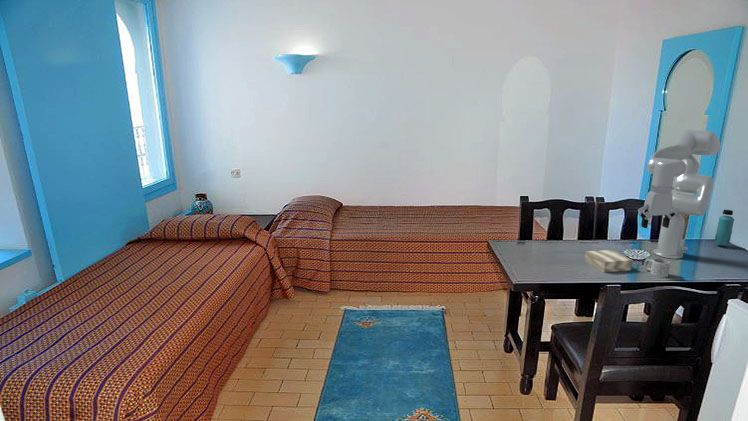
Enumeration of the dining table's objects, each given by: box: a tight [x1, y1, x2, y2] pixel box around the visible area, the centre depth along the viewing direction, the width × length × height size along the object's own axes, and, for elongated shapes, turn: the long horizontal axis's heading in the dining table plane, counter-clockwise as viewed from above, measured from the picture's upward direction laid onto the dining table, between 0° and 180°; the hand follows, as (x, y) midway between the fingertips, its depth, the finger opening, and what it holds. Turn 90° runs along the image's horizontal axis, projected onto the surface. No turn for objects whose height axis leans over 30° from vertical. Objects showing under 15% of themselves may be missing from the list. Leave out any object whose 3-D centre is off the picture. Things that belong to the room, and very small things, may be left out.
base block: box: [584, 249, 633, 273], centre depth 204 cm, size 14×14×5 cm
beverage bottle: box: [714, 209, 735, 247], centre depth 228 cm, size 6×7×20 cm
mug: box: [643, 257, 671, 279], centre depth 195 cm, size 10×7×7 cm
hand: (654, 227), depth 192 cm, fingers open, 9 cm apart
